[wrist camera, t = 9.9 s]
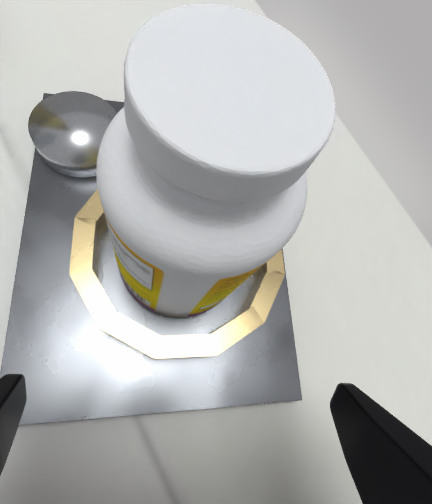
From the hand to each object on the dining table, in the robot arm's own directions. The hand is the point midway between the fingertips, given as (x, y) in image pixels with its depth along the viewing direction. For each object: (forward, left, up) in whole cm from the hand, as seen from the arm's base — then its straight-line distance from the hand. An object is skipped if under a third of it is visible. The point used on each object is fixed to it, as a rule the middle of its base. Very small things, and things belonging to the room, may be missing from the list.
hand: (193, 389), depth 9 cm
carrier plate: (+8, 0, -9) cm, 12 cm away
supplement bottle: (+6, 0, -8) cm, 10 cm away
